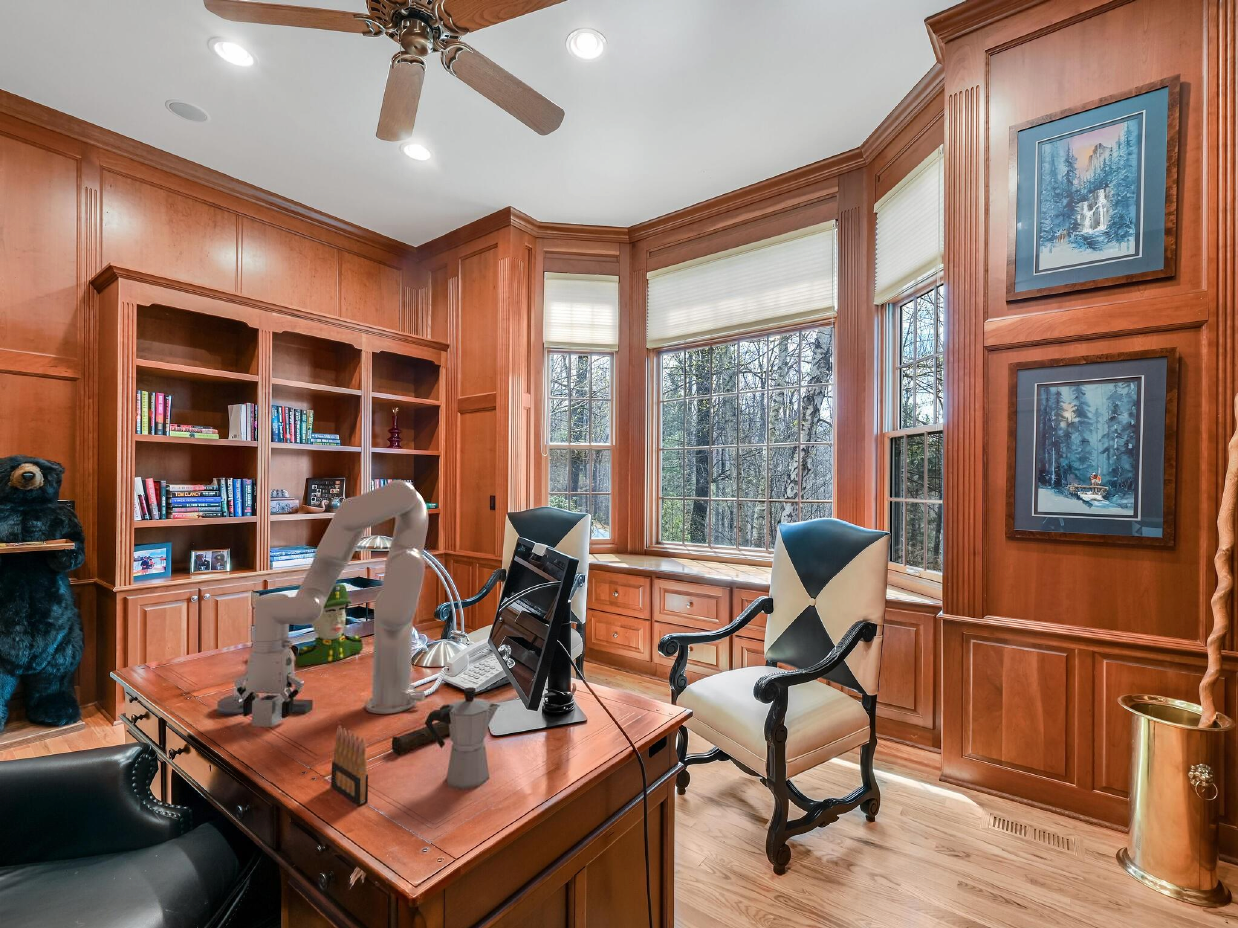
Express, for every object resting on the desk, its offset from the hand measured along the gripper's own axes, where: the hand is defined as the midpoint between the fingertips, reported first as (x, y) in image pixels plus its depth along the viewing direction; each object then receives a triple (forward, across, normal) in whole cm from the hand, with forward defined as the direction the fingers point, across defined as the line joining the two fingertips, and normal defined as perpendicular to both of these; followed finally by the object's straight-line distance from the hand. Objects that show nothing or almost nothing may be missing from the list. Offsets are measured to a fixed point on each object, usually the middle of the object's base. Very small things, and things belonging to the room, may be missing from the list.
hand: (267, 714), depth 140 cm
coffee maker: (+2, -56, +22) cm, 60 cm away
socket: (+2, 0, 0) cm, 2 cm away
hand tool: (+2, -43, +5) cm, 44 cm away
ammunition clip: (+2, -36, +29) cm, 47 cm away
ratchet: (+2, +6, -7) cm, 9 cm away
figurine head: (+2, +12, -48) cm, 50 cm away
